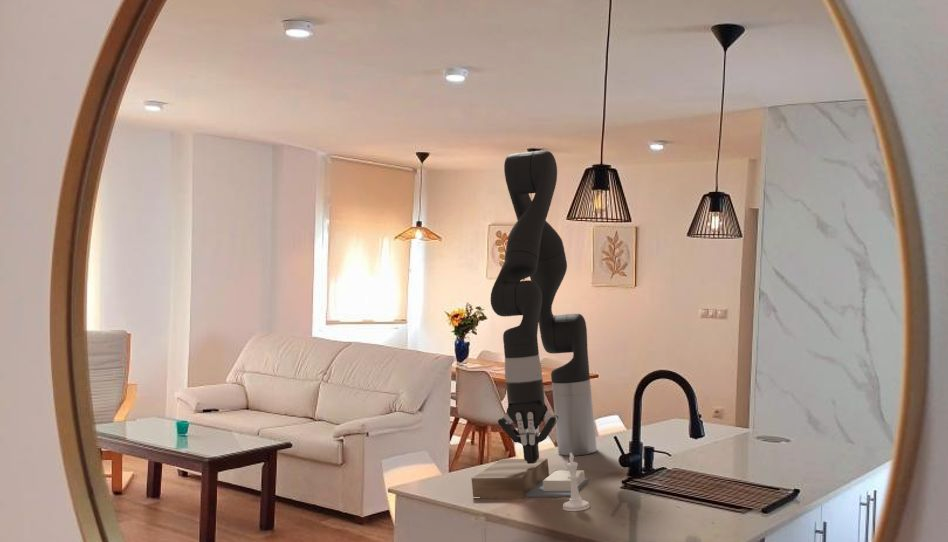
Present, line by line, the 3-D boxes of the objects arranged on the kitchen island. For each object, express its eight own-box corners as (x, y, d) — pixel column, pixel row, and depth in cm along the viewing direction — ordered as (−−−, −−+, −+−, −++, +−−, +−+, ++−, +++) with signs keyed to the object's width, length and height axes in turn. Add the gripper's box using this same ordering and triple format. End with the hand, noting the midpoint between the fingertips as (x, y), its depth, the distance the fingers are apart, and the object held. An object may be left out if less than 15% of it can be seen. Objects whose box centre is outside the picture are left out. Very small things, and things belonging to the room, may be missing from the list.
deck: (503, 477, 196) (501, 459, 196) (549, 477, 192) (547, 458, 192) (473, 498, 179) (471, 478, 179) (523, 498, 176) (521, 477, 176)
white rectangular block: (583, 470, 185) (584, 480, 184) (555, 470, 187) (556, 480, 187) (571, 480, 176) (572, 490, 176) (542, 480, 178) (543, 490, 178)
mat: (545, 480, 190) (545, 478, 190) (589, 479, 186) (589, 477, 186) (524, 496, 176) (524, 494, 176) (571, 496, 173) (571, 494, 173)
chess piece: (559, 511, 163) (554, 456, 163) (567, 504, 168) (562, 450, 168) (585, 511, 161) (580, 455, 161) (593, 504, 166) (587, 450, 166)
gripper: (560, 374, 186) (568, 458, 185) (500, 377, 190) (507, 459, 190) (549, 379, 179) (557, 466, 178) (487, 382, 184) (495, 467, 183)
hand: (532, 462), depth 184 cm, fingers closed
